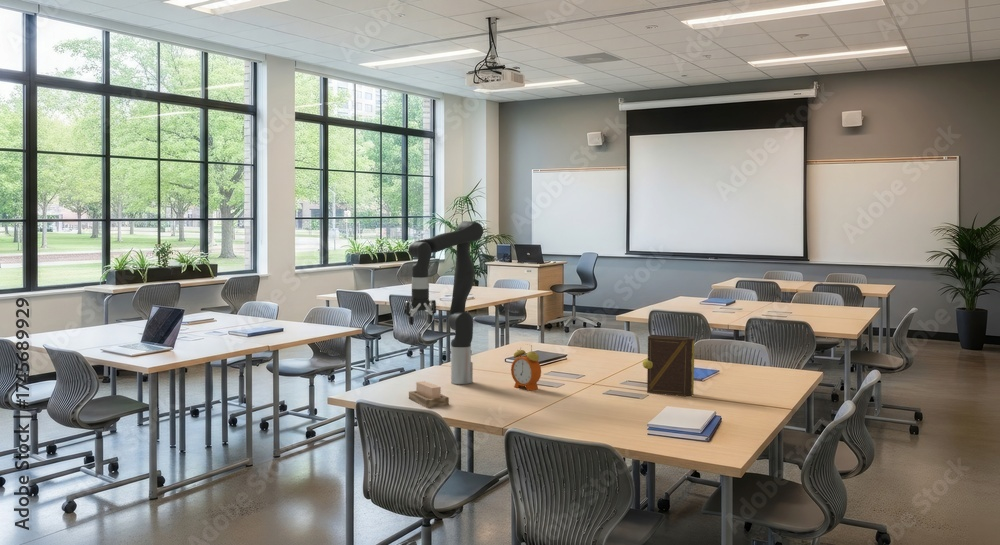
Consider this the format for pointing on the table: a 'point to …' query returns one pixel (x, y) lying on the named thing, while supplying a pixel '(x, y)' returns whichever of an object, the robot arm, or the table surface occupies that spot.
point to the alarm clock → (526, 369)
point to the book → (670, 365)
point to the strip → (428, 390)
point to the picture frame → (428, 400)
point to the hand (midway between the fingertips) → (420, 324)
